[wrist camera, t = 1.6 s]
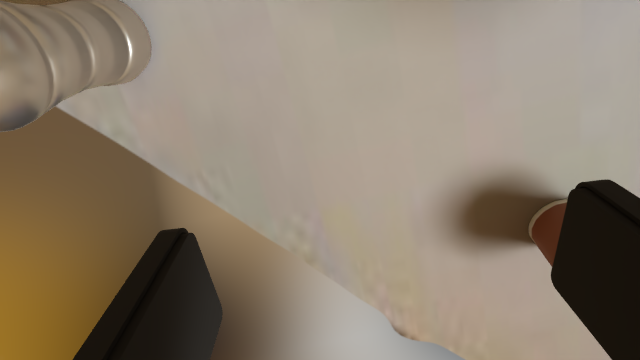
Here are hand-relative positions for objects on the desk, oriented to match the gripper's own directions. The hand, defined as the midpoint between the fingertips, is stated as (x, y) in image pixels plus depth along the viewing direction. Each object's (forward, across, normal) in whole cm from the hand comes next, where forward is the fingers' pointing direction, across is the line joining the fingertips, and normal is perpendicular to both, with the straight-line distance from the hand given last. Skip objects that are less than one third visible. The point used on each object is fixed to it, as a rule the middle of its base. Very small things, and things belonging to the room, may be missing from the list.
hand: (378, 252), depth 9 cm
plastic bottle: (+26, +18, -5) cm, 32 cm away
